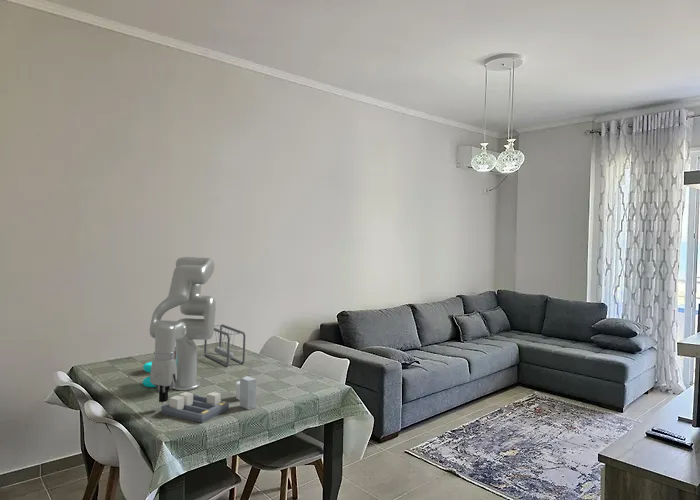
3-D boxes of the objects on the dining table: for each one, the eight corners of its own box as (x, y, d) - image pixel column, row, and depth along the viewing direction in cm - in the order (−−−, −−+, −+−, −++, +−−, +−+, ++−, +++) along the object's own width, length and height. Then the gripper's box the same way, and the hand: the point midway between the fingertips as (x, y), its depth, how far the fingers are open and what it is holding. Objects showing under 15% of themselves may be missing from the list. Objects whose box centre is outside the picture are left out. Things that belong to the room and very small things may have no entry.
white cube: (169, 409, 185) (169, 398, 185) (176, 406, 189) (176, 395, 189) (177, 411, 184) (177, 399, 184) (183, 408, 187) (184, 397, 187)
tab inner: (206, 405, 191) (207, 394, 191) (212, 402, 195) (212, 391, 194) (214, 407, 190) (215, 396, 190) (220, 404, 193) (220, 393, 193)
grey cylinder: (244, 394, 212) (244, 378, 211) (254, 398, 207) (254, 382, 207) (231, 398, 206) (232, 382, 206) (241, 402, 202) (242, 385, 202)
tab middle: (178, 405, 190) (179, 394, 190) (185, 402, 194) (185, 391, 193) (186, 407, 189) (187, 395, 189) (192, 404, 192) (193, 393, 192)
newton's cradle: (203, 355, 276) (204, 325, 275) (220, 353, 283) (221, 323, 282) (227, 367, 253) (228, 334, 253) (244, 364, 260) (246, 332, 259)
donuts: (138, 364, 216) (153, 359, 226) (137, 386, 216) (152, 380, 226) (156, 367, 214) (170, 361, 223) (156, 389, 214) (170, 382, 223)
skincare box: (256, 407, 196) (257, 378, 196) (247, 410, 193) (248, 380, 192) (247, 403, 200) (248, 375, 200) (238, 406, 197) (239, 377, 196)
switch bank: (161, 413, 186) (161, 405, 186) (189, 401, 200) (190, 393, 200) (202, 423, 178) (202, 414, 178) (228, 409, 193) (228, 401, 193)
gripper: (143, 355, 188) (141, 400, 188) (172, 360, 182) (170, 407, 183) (157, 351, 195) (156, 395, 195) (186, 356, 189) (184, 401, 189)
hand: (163, 401), depth 189 cm, fingers closed
